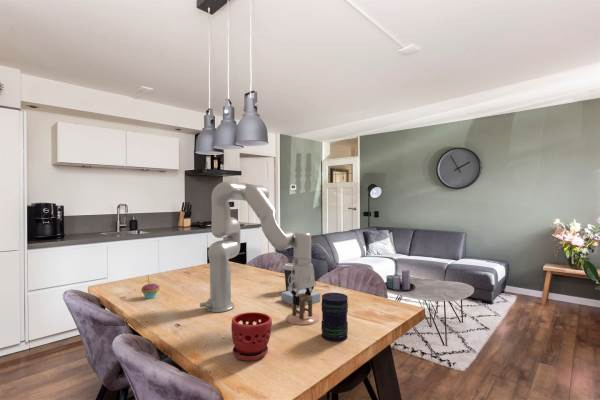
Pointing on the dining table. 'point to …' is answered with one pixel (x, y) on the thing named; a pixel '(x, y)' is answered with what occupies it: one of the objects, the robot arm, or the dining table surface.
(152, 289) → the cupcake
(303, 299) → the stool
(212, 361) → the dining table surface
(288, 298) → the step
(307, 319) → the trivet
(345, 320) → the storage jar
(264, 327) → the plant pot
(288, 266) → the coffee cup
